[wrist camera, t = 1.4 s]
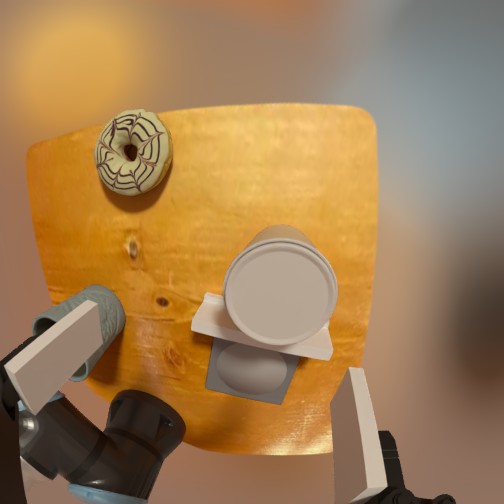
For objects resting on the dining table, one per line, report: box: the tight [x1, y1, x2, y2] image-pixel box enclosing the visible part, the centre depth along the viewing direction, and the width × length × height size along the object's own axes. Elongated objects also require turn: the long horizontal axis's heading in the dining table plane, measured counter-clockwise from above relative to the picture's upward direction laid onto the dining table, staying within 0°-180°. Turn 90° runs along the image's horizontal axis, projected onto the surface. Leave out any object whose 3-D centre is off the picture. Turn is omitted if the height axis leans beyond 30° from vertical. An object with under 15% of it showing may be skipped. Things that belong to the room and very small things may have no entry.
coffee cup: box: [223, 225, 338, 345], centre depth 27 cm, size 9×9×12 cm
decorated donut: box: [94, 109, 173, 196], centre depth 30 cm, size 10×11×4 cm
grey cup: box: [32, 285, 126, 382], centre depth 33 cm, size 10×10×12 cm
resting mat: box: [205, 337, 301, 405], centre depth 38 cm, size 12×12×1 cm
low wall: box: [191, 292, 333, 361], centre depth 33 cm, size 3×16×6 cm, turn 78°
